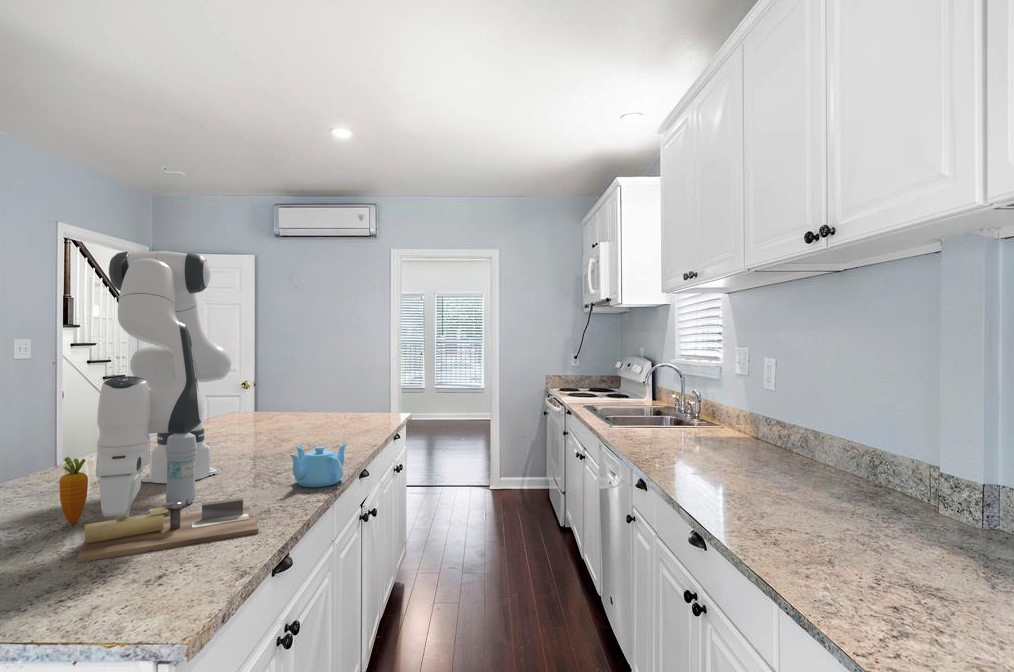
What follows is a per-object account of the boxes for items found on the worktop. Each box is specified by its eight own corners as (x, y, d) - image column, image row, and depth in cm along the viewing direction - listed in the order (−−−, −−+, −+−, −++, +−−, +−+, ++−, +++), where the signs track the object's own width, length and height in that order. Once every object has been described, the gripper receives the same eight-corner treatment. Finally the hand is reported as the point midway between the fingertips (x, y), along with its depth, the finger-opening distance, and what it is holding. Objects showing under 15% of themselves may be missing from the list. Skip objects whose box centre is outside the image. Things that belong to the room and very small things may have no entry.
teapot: (342, 489, 148) (343, 451, 148) (284, 491, 145) (285, 453, 145) (347, 475, 162) (348, 441, 162) (294, 477, 159) (295, 443, 159)
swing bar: (183, 521, 115) (184, 499, 115) (186, 526, 112) (186, 503, 112) (84, 539, 105) (84, 514, 105) (84, 544, 102) (85, 519, 102)
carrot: (93, 523, 118) (94, 455, 118) (68, 531, 113) (69, 460, 113) (77, 521, 120) (78, 453, 120) (52, 528, 115) (53, 458, 115)
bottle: (181, 508, 129) (182, 425, 129) (157, 506, 130) (159, 424, 130) (202, 500, 135) (203, 421, 136) (179, 498, 137) (181, 420, 137)
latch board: (91, 532, 113) (92, 508, 113) (249, 510, 128) (249, 489, 128) (77, 562, 97) (77, 535, 97) (258, 533, 113) (258, 509, 113)
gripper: (114, 448, 117) (113, 512, 117) (93, 469, 99) (92, 545, 99) (149, 446, 120) (148, 508, 120) (134, 466, 101) (133, 539, 101)
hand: (122, 525), depth 109 cm, fingers closed
